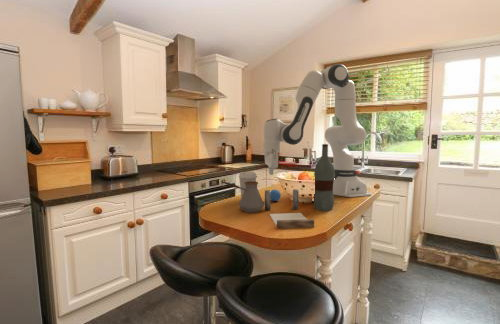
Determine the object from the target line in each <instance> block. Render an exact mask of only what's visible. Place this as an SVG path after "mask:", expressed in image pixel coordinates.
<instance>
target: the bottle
mask: <svg viewBox="0 0 500 324" xmlns="http://www.w3.org/2000/svg"><path fill="white" fill-rule="evenodd" d="M328 146H329V143H323V144H321V147H322V148H321V156H320V158H319V160H318V161H317V163H316V164H315V167H314V172H313V174H314V176H313V177H315V194H314V202H313V205H314V209H315V210H317V211H322V212H330V211H332V210H333V208H334V203H335V197H334V196H335V195H333V183H334V175H335V172H334V166H333V162H332V161H331V159H330V157H329V152H328V151H329V147H328Z"/></svg>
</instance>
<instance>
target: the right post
mask: <svg viewBox="0 0 500 324" xmlns="http://www.w3.org/2000/svg"><path fill="white" fill-rule="evenodd" d="M292 210H295V211H297V210H299V189H295V188H294V189H292Z"/></svg>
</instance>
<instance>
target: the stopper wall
mask: <svg viewBox="0 0 500 324" xmlns="http://www.w3.org/2000/svg"><path fill="white" fill-rule="evenodd" d="M276 228H277V229H279V230H280V229H296V228H297V229H298V228H299V229H301V228H302V229H303V228H315V220H314V219H313V218H306V219H300V220H277V225H276Z"/></svg>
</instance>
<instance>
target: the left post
mask: <svg viewBox="0 0 500 324" xmlns="http://www.w3.org/2000/svg"><path fill="white" fill-rule="evenodd" d="M271 191H272V190H268V189H265V190H264V211H267V212H269V211H271V199H270V196H271Z"/></svg>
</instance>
